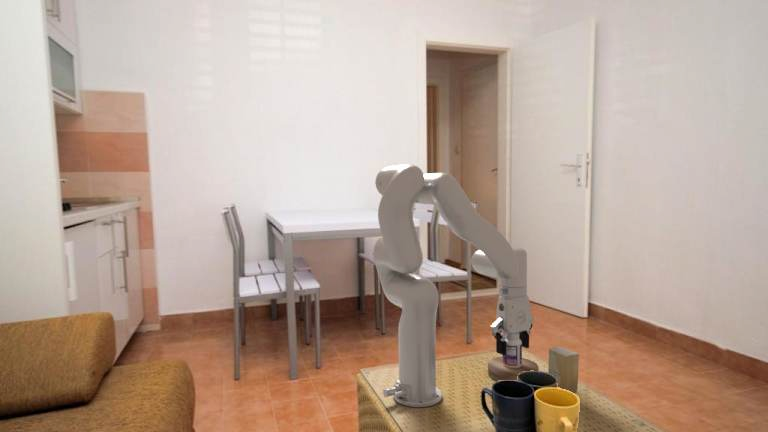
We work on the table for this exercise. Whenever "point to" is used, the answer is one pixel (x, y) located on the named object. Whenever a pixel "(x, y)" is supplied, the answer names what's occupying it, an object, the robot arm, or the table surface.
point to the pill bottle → (513, 351)
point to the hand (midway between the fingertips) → (512, 350)
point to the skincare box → (564, 368)
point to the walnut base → (508, 369)
